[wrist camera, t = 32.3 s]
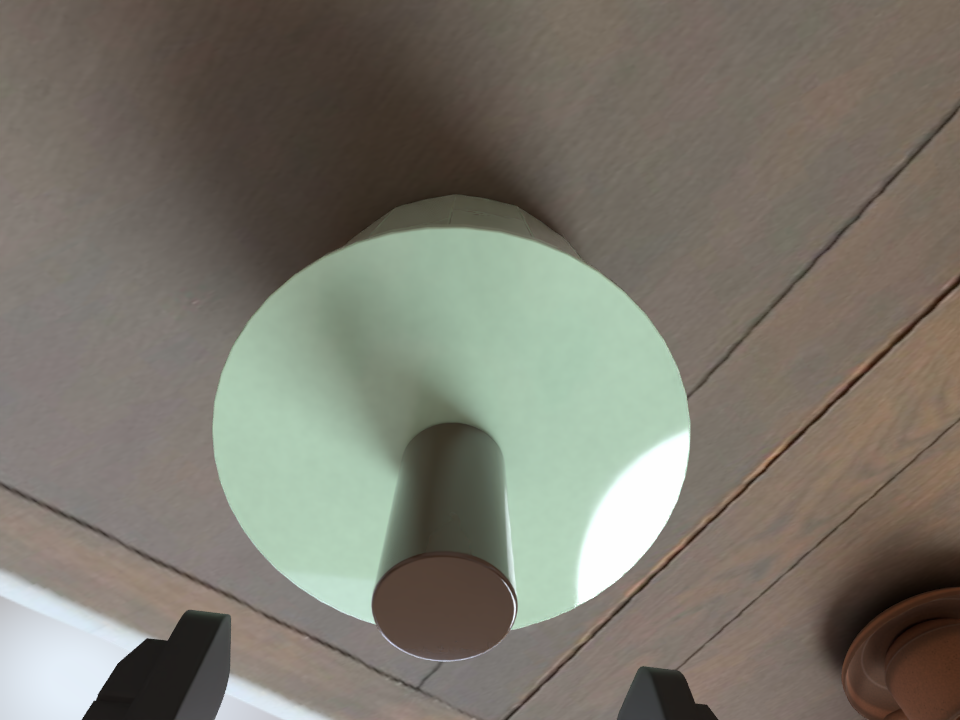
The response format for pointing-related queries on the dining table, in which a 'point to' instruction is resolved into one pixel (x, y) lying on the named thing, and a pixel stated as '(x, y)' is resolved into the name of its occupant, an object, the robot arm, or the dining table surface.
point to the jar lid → (451, 433)
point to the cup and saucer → (908, 660)
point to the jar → (465, 218)
